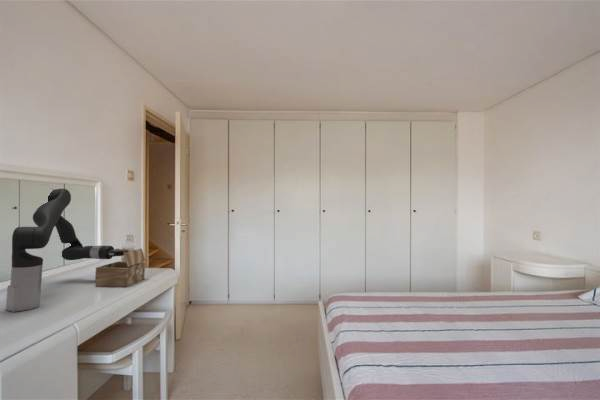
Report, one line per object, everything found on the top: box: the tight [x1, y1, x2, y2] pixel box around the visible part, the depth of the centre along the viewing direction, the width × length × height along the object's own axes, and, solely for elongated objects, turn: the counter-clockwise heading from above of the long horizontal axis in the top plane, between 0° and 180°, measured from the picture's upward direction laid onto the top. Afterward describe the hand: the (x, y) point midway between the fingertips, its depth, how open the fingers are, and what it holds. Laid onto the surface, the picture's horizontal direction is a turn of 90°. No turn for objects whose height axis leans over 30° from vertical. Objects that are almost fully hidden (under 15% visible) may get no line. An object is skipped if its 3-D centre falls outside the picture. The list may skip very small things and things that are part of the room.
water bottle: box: [120, 234, 136, 262], centre depth 177 cm, size 7×7×25 cm
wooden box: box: [94, 261, 146, 288], centre depth 157 cm, size 19×17×10 cm
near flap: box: [123, 247, 146, 267], centre depth 158 cm, size 17×8×1 cm
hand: (133, 252), depth 158 cm, fingers closed
